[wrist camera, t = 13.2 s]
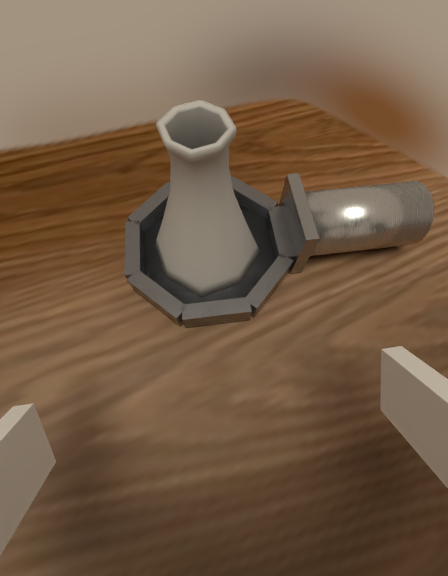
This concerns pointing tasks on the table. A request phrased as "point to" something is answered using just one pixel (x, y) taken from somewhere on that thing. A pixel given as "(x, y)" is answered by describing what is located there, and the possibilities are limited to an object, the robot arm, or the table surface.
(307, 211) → the octagonal metal scoop
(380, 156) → the table surface
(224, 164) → the flask
